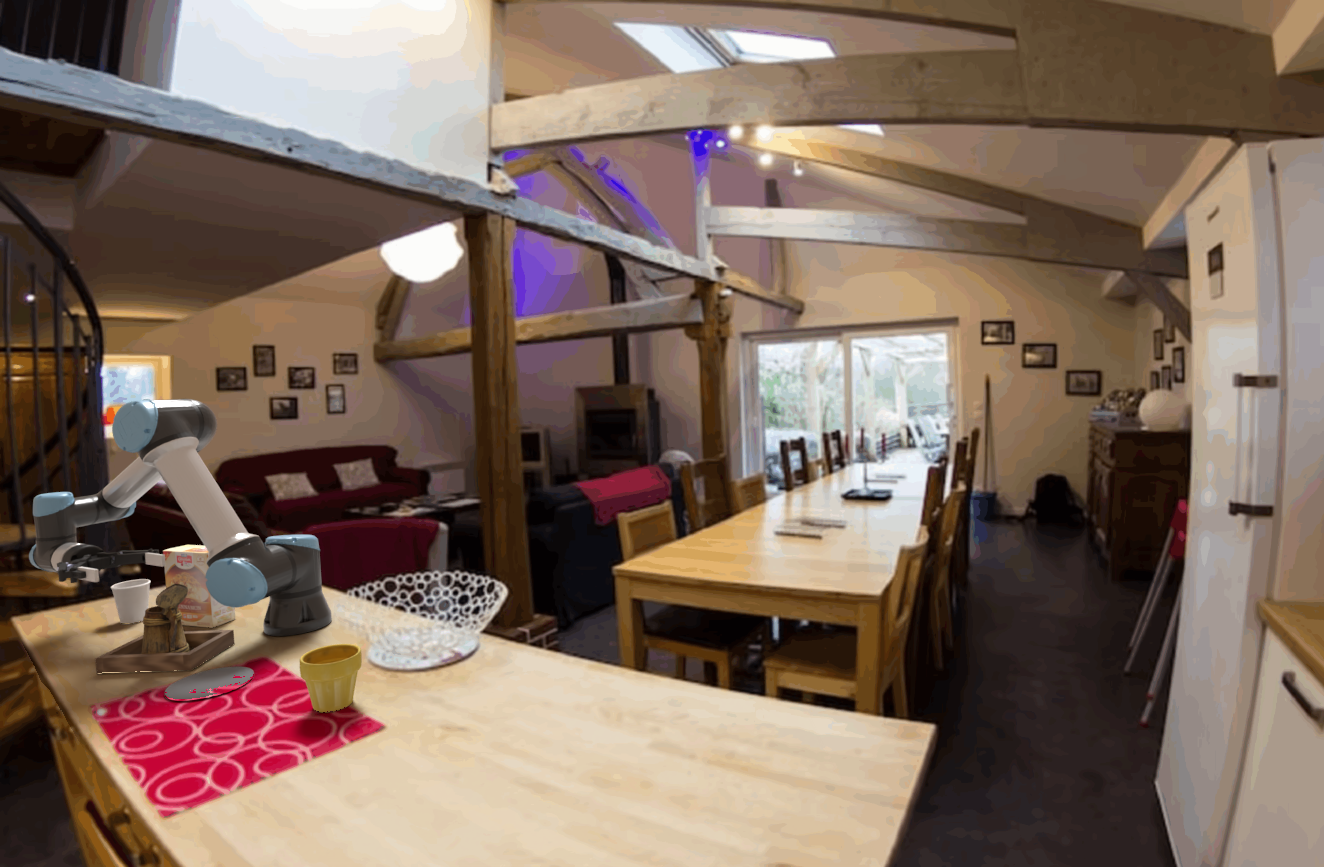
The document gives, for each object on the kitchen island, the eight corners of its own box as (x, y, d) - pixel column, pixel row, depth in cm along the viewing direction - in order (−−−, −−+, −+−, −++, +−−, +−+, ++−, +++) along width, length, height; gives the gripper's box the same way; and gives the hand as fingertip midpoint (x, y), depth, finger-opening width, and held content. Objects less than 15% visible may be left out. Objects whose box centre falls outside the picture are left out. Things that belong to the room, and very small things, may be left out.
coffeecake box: (167, 624, 176) (161, 550, 175) (193, 615, 183) (188, 543, 181) (211, 628, 172) (205, 552, 170) (237, 619, 178) (231, 545, 177)
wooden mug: (157, 672, 145) (150, 589, 144) (133, 659, 152) (126, 580, 151) (204, 657, 152) (198, 578, 151) (179, 646, 160) (173, 571, 159)
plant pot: (374, 692, 131) (371, 642, 131) (344, 718, 121) (341, 664, 120) (324, 691, 132) (320, 642, 132) (290, 717, 122) (286, 664, 122)
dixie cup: (122, 617, 183) (119, 581, 182) (159, 613, 185) (155, 577, 184) (107, 627, 175) (104, 589, 174) (146, 623, 177) (142, 585, 177)
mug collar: (234, 644, 160) (233, 629, 160) (191, 670, 145) (189, 654, 145) (148, 647, 160) (147, 632, 159) (96, 674, 145) (95, 658, 144)
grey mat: (269, 667, 145) (268, 665, 145) (224, 700, 130) (224, 697, 130) (198, 670, 145) (198, 667, 145) (145, 703, 130) (145, 700, 130)
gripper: (138, 562, 176) (189, 570, 167) (15, 589, 153) (66, 599, 144) (136, 533, 175) (187, 539, 166) (12, 556, 153) (64, 565, 144)
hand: (131, 567), depth 155 cm, fingers open, 13 cm apart
